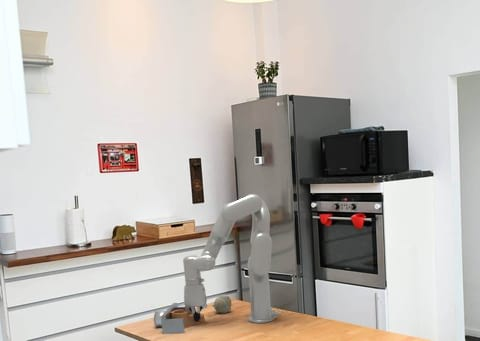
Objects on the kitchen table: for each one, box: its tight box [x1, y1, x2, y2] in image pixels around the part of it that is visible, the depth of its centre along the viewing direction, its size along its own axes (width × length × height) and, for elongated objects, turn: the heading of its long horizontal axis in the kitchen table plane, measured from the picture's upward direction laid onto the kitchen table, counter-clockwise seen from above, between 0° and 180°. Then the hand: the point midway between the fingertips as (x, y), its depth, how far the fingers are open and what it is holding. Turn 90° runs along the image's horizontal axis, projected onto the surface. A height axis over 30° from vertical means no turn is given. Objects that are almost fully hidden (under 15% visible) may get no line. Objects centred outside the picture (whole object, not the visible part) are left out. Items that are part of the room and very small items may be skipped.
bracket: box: [171, 309, 205, 329], centre depth 231 cm, size 18×8×7 cm, turn 139°
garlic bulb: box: [212, 294, 232, 314], centre depth 247 cm, size 9×8×10 cm
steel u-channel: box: [153, 302, 193, 335], centre depth 228 cm, size 16×24×8 cm, turn 175°
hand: (197, 320), depth 227 cm, fingers closed
